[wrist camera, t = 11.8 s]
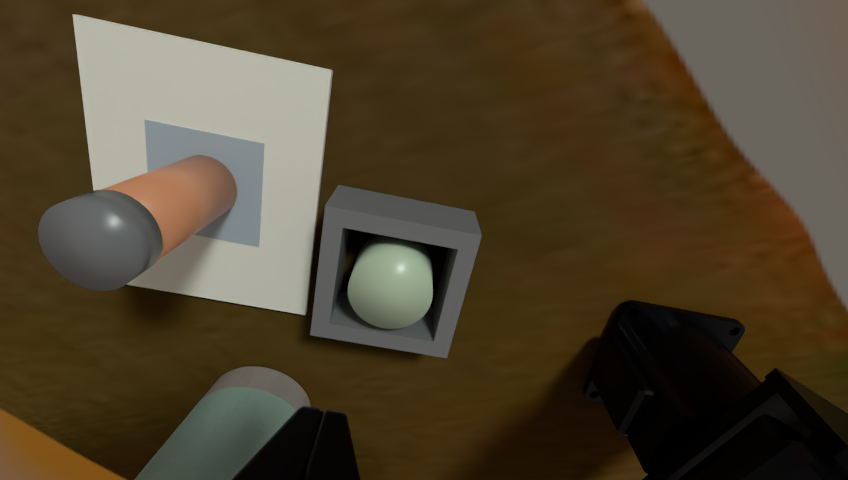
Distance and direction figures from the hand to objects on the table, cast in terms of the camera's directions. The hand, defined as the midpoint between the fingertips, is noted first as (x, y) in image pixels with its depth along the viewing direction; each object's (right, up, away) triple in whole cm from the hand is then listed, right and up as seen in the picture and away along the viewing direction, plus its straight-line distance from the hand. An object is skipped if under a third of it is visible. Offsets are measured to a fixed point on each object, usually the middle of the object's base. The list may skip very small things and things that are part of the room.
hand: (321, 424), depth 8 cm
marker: (-8, +6, +11) cm, 15 cm away
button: (0, +2, +12) cm, 13 cm away
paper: (-8, +6, +12) cm, 15 cm away
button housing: (0, +2, +13) cm, 13 cm away
